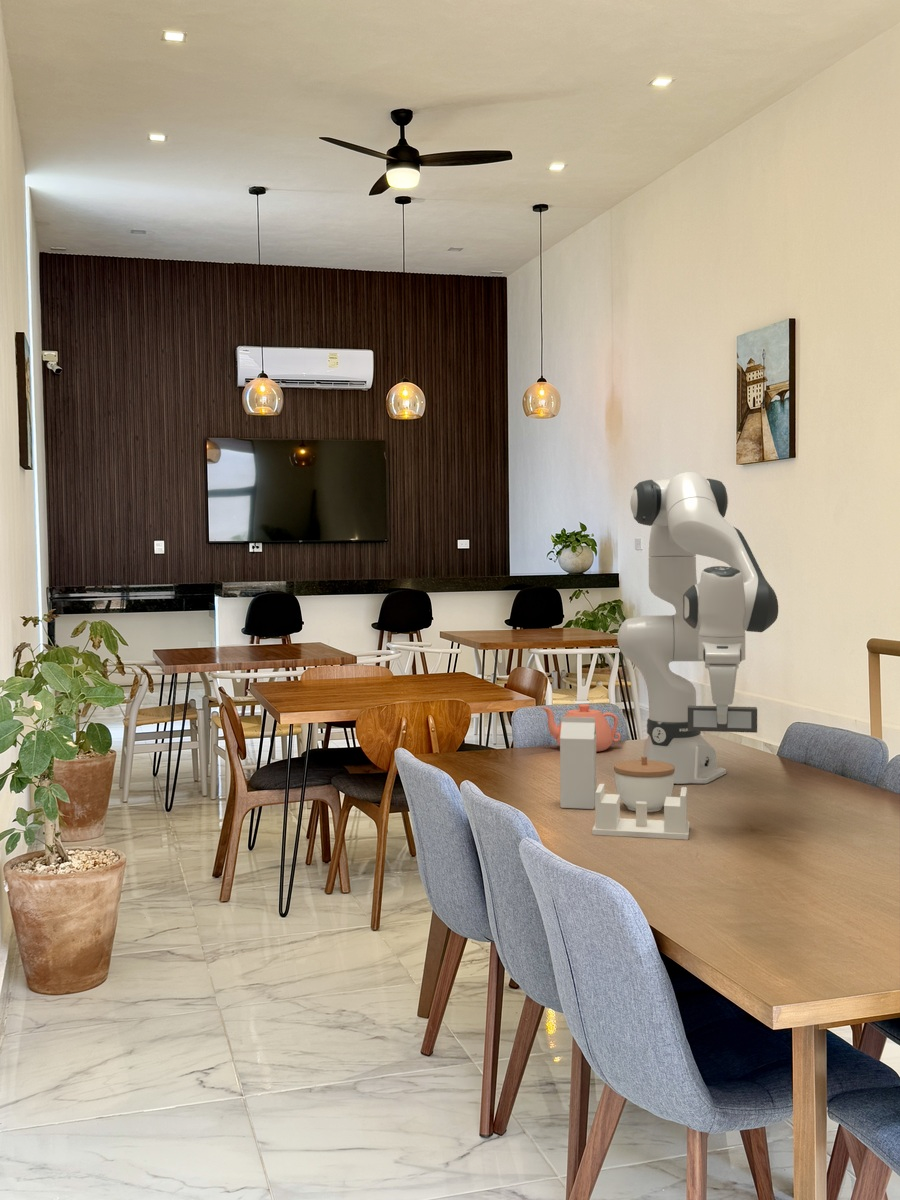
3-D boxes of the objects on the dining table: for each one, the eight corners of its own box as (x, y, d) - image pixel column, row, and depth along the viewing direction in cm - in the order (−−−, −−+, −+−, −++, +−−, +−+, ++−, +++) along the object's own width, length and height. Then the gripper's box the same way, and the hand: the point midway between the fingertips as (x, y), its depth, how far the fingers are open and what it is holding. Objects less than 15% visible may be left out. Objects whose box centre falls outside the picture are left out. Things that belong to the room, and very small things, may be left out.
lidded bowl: (638, 818, 221) (638, 764, 220) (602, 805, 232) (602, 754, 232) (687, 811, 227) (687, 758, 226) (649, 799, 238) (649, 749, 237)
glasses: (687, 730, 210) (687, 707, 210) (687, 728, 213) (687, 705, 213) (757, 732, 207) (757, 709, 207) (756, 730, 210) (756, 707, 210)
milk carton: (594, 809, 228) (593, 720, 228) (560, 808, 230) (559, 719, 229) (596, 802, 235) (596, 715, 235) (563, 801, 237) (563, 714, 236)
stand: (592, 834, 208) (592, 793, 208) (597, 822, 218) (597, 782, 218) (688, 839, 204) (688, 797, 204) (689, 826, 214) (689, 786, 213)
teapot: (543, 755, 291) (543, 708, 291) (538, 744, 307) (538, 701, 306) (625, 754, 291) (625, 708, 291) (616, 744, 307) (616, 700, 306)
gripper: (704, 646, 221) (704, 713, 221) (705, 655, 201) (705, 729, 201) (736, 646, 219) (736, 714, 220) (740, 655, 199) (740, 730, 200)
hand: (721, 721), depth 210 cm, fingers closed on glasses, 3 cm apart
